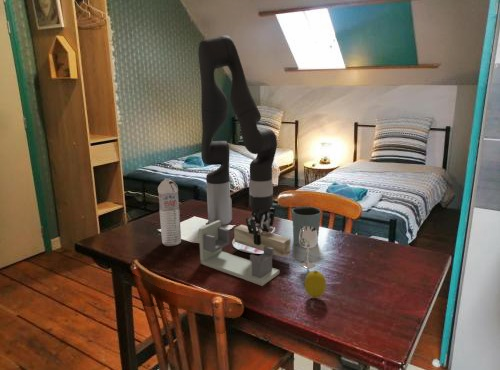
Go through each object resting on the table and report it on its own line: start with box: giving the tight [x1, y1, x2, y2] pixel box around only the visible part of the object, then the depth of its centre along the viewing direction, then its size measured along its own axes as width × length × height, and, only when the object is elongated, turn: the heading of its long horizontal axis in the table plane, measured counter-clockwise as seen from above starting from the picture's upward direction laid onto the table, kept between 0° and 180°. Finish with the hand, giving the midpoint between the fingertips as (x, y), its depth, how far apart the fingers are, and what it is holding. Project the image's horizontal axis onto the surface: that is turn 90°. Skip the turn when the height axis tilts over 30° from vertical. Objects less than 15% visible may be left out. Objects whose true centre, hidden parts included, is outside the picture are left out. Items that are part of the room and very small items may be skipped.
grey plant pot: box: [291, 205, 322, 248], centre depth 139 cm, size 10×10×12 cm
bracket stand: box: [198, 220, 280, 287], centre depth 120 cm, size 9×24×12 cm, turn 53°
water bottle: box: [157, 174, 182, 247], centre depth 138 cm, size 7×7×25 cm
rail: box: [233, 224, 292, 259], centre depth 130 cm, size 4×20×5 cm, turn 52°
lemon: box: [304, 270, 327, 299], centre depth 104 cm, size 6×6×8 cm
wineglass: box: [299, 226, 319, 269], centre depth 122 cm, size 6×6×12 cm
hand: (261, 241), depth 130 cm, fingers closed on rail, 4 cm apart
